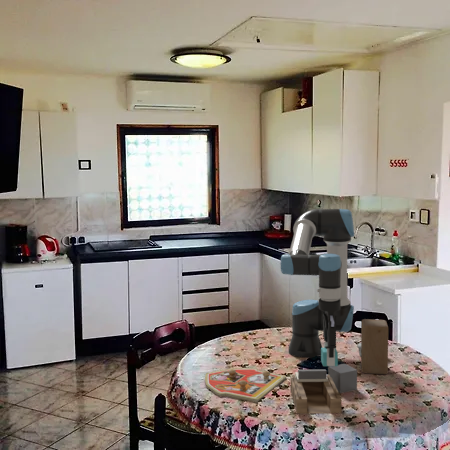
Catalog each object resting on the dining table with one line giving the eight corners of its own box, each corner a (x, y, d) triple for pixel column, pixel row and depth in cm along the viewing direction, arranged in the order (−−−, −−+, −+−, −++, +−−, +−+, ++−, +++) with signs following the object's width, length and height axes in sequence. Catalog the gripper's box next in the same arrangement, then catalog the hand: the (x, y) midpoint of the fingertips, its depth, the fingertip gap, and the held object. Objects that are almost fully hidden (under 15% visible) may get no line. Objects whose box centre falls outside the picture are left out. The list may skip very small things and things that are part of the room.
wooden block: (387, 375, 219) (388, 326, 217) (361, 373, 221) (362, 325, 219) (385, 366, 229) (386, 319, 227) (360, 365, 231) (361, 318, 229)
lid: (295, 374, 207) (295, 364, 206) (324, 374, 206) (324, 363, 206) (297, 381, 200) (297, 371, 199) (327, 381, 200) (327, 370, 199)
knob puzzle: (256, 405, 195) (256, 393, 194) (186, 390, 209) (185, 379, 208) (288, 377, 220) (288, 366, 219) (223, 365, 234) (223, 355, 234)
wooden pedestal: (290, 392, 205) (290, 375, 204) (331, 391, 204) (331, 374, 204) (296, 415, 186) (296, 396, 185) (341, 414, 185) (341, 395, 185)
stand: (328, 387, 208) (328, 366, 208) (344, 383, 211) (344, 363, 211) (340, 394, 202) (340, 373, 201) (356, 390, 205) (357, 369, 204)
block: (321, 361, 198) (321, 347, 198) (335, 360, 198) (335, 347, 198) (323, 366, 193) (323, 352, 193) (337, 366, 193) (337, 352, 193)
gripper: (315, 292, 202) (315, 353, 205) (322, 305, 184) (322, 372, 187) (335, 292, 202) (335, 353, 205) (345, 305, 184) (345, 372, 187)
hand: (329, 362), depth 196 cm, fingers closed on block, 5 cm apart
